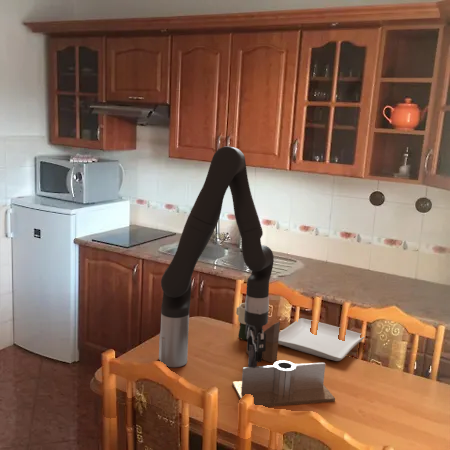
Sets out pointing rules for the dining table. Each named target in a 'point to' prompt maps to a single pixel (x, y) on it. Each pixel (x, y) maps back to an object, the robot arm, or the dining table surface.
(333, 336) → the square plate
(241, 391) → the hinge stand
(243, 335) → the character mug
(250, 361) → the hinge pin
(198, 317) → the dining table surface
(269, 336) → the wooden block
